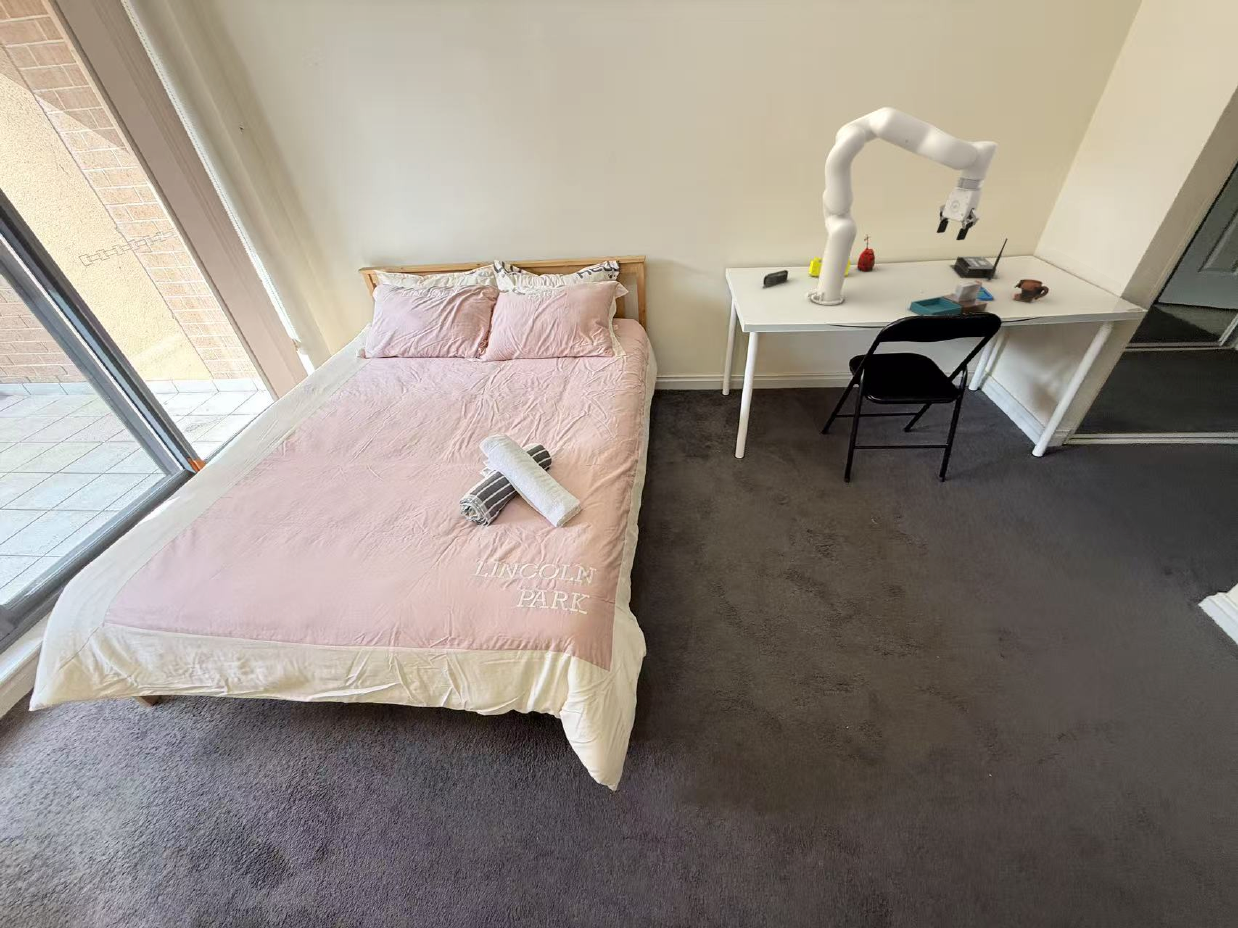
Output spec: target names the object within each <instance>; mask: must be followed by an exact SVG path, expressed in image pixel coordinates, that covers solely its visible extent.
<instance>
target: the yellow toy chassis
mask: <svg viewBox="0 0 1238 928" xmlns="http://www.w3.org/2000/svg"><path fill="white" fill-rule="evenodd" d="M822 261H823V257H815V258H813V259H812V260H811V261H810V264H809V269H808V273H809V274H810V276H811V277H815V278H819V275H820V270H821V266H822ZM851 263H852V261H851V260H850V259H849V260H848V265H847V269H846V273H845V276H848V274H849V270H850V266H851Z"/></svg>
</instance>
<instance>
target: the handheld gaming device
mask: <svg viewBox="0 0 1238 928" xmlns="http://www.w3.org/2000/svg"><path fill="white" fill-rule="evenodd" d="M977 299H980V300H982V301H993V300H994V299H995V297H994V296H993V295H992V294H991V293H990V292H989V291H987V289H985V287H983V285H982V286H981V289H980V291H979V293H978V297H977Z"/></svg>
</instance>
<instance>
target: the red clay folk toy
mask: <svg viewBox="0 0 1238 928" xmlns="http://www.w3.org/2000/svg"><path fill="white" fill-rule="evenodd" d="M869 238H871V236H869V235H868V234H866V237H864V239H863V241H864V242H866V248H865V249H864V250H863V251H862V252H861V254H860V255H859V257H858V260H857V267H856V268H857V269H858V271H861V272H863V273H865V272H870V271H872V270H873V269H874V267H875V264H876V263H875V262H876V255H875V250H873V248H869Z"/></svg>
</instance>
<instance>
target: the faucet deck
mask: <svg viewBox="0 0 1238 928" xmlns="http://www.w3.org/2000/svg"><path fill="white" fill-rule="evenodd" d="M954 295H955V293H952V292H951V294H950V293H949V294H946V295H945V294H944V295H941V296H940V297H942V298H944V299H947V300H949V301H950V302H953V303H955V304H957V305H959V306H961V307H963V308H962V310H961V313H960V315H962V314H963V313H969V314H971V313H970V312H974V313H979V312H984V311H985V310H986V308H987V307H988V306H987V305H988V302H986V301H985V300H980V299H977V298H976V299H972V300H967V301H961V302H956V301H954V300H953V297H954ZM977 297H978V296H977Z"/></svg>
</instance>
